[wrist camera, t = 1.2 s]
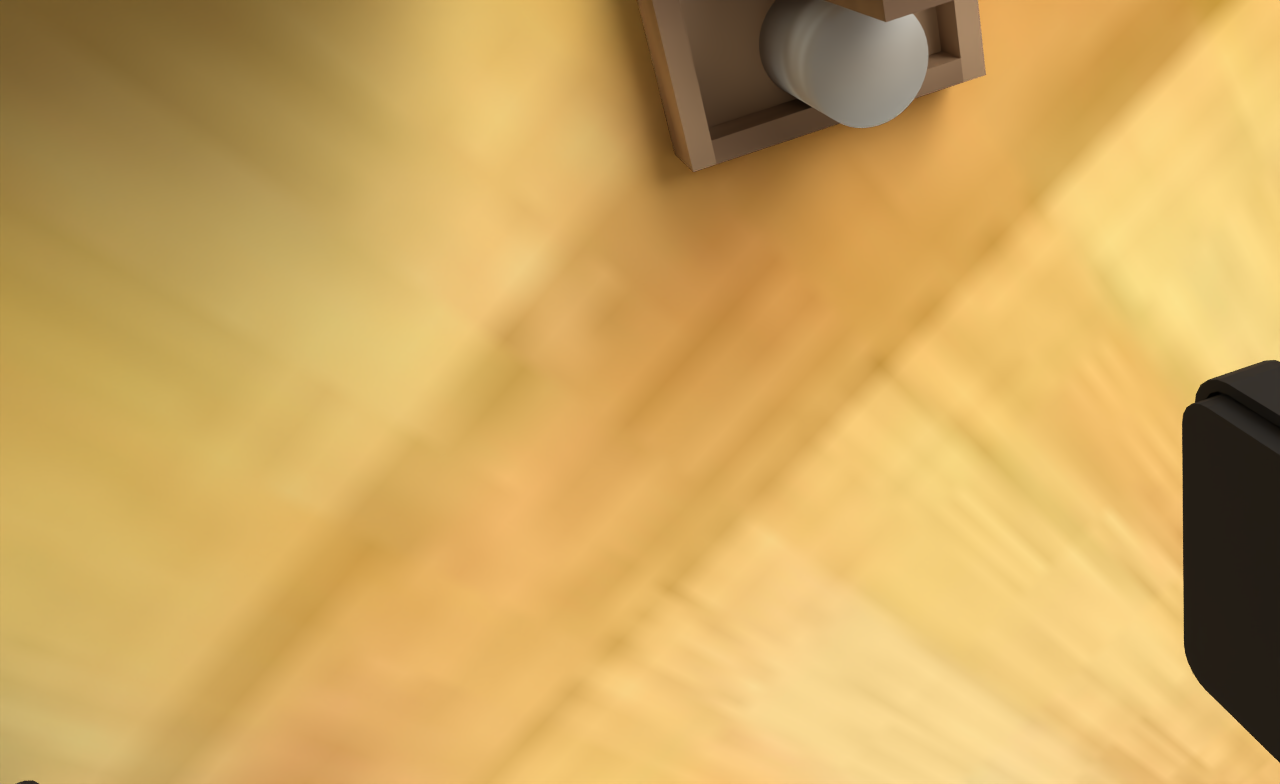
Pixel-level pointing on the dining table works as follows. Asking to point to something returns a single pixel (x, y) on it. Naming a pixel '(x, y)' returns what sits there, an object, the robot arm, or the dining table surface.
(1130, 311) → the dining table surface
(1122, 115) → the dining table surface
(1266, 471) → the robot arm
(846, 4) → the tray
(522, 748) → the dining table surface
